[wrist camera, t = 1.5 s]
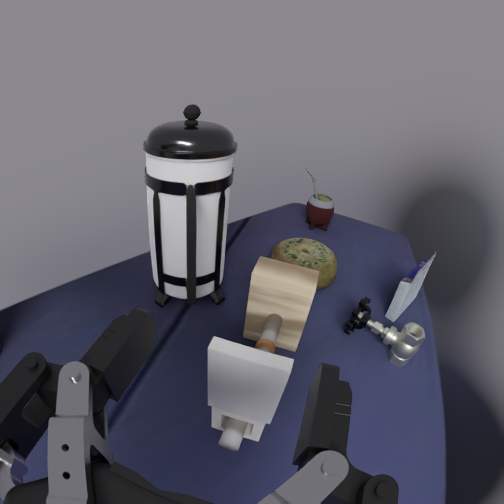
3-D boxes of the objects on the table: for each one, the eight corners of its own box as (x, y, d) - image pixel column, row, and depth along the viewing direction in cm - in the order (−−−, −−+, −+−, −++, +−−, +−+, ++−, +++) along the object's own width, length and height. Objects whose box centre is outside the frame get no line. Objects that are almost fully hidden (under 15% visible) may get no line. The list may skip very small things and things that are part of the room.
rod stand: (260, 471, 26) (282, 435, 20) (192, 449, 28) (184, 403, 21) (300, 332, 45) (319, 271, 39) (250, 319, 47) (260, 256, 40)
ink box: (406, 292, 57) (428, 245, 50) (415, 298, 55) (437, 251, 49) (382, 316, 50) (407, 264, 44) (392, 323, 48) (418, 271, 42)
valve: (413, 352, 43) (357, 318, 49) (431, 325, 39) (370, 289, 46) (400, 378, 38) (338, 339, 45) (420, 350, 35) (352, 309, 41)
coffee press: (125, 286, 49) (108, 107, 33) (190, 251, 60) (195, 98, 44) (193, 343, 41) (195, 118, 25) (259, 291, 52) (287, 113, 36)
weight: (278, 245, 66) (281, 225, 64) (337, 262, 64) (343, 242, 61) (259, 280, 56) (263, 258, 53) (330, 301, 53) (337, 279, 50)
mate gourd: (333, 227, 77) (346, 173, 69) (319, 236, 72) (333, 178, 64) (309, 216, 81) (320, 164, 73) (294, 225, 75) (305, 168, 67)
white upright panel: (262, 442, 27) (290, 372, 19) (208, 425, 28) (207, 347, 20) (271, 413, 30) (300, 332, 23) (220, 397, 31) (227, 311, 24)
